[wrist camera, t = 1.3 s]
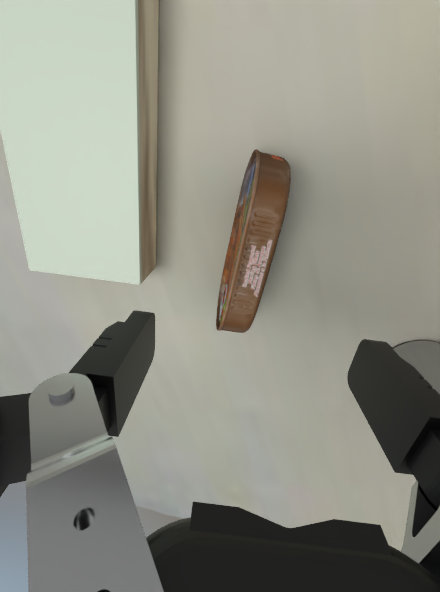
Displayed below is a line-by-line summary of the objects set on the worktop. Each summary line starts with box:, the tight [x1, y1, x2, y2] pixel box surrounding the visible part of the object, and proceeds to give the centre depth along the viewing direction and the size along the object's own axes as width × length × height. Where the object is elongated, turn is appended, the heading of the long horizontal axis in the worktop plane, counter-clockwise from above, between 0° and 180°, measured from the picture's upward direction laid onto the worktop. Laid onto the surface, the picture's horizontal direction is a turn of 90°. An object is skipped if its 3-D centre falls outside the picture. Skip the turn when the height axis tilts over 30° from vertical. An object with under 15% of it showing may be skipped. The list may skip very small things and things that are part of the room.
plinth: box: [0, 0, 159, 285], centre depth 21 cm, size 10×22×5 cm, turn 173°
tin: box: [216, 150, 291, 333], centre depth 22 cm, size 15×3×8 cm, turn 169°
